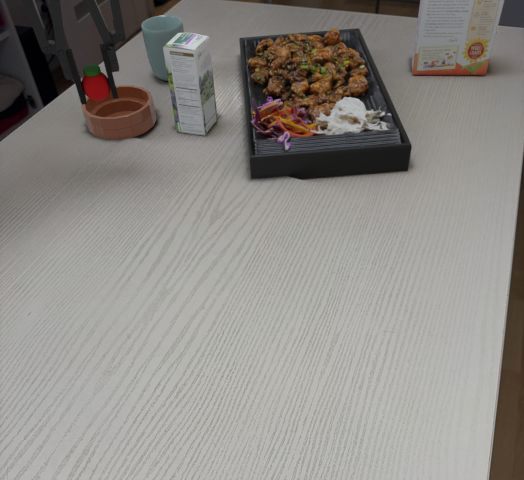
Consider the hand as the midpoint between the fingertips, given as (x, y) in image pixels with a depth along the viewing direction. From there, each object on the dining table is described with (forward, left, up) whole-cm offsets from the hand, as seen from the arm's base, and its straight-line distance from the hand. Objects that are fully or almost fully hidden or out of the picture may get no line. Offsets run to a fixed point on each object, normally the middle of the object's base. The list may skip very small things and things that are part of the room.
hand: (99, 96), depth 79 cm
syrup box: (+4, +18, -13) cm, 22 cm away
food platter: (+20, +32, -13) cm, 39 cm away
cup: (-12, +33, -13) cm, 37 cm away
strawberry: (0, 0, 0) cm, 0 cm away
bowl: (-9, +13, -12) cm, 20 cm away
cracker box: (+38, +56, -13) cm, 68 cm away
